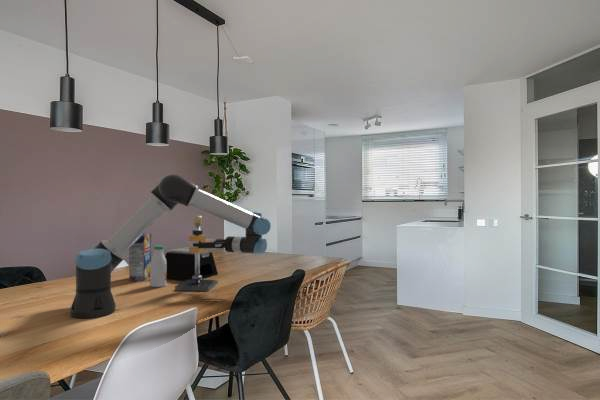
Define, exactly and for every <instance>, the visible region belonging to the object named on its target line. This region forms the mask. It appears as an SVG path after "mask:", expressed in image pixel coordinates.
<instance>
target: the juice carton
mask: <svg viewBox="0 0 600 400" xmlns="http://www.w3.org/2000/svg"><path fill="white" fill-rule="evenodd" d="M128 254H129V261H128V262H129V266H128V267H129V271H128V274H129V278H128V279H129V282H144V281H146V280H147V279H150V263H151V259H152V233H144V234H143V235H142V236H141V237H140V238H139V239H138V240H137V241H136V242H135V243H134V244H133V245H132V246H131V247H130V248H129V253H128Z"/></svg>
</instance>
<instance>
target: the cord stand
mask: <svg viewBox="0 0 600 400" xmlns="http://www.w3.org/2000/svg"><path fill="white" fill-rule="evenodd" d="M202 221H203V216H202V215H193V225H194V229H193V230H192V233H191V235H195V236H200V235H204V234H203V229H201V225H202V224H203V222H202ZM218 283H219V281H218V279H202V275H200V253H196V252H195V275H193V276H192V280H191V279H187V280H185V281H181V282H180V283H178V284H176V285H175V286H174V291H176V292H181V291H183V292H210V291H211V290H212V289H213V288H215V285H216V284H217V285H218ZM217 285H216V286H217ZM210 289H211V290H210Z"/></svg>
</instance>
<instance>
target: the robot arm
mask: <svg viewBox="0 0 600 400" xmlns="http://www.w3.org/2000/svg"><path fill="white" fill-rule="evenodd" d="M178 204H179V205H182V206H185V207H191V206H192V207H194V208H196V209H199V210H201V211H203V212H205V213H208V214H210V215H212V216H215V217H217V218H219V219H222V220H224V221H226V222H229V223H231V224H234V225H236V226H238V227H241V228H243V229H245V236H230V235H229V236H227V237H226V238H206V242H201V241H199V242H193V241H189V240H188V241H187V247H188V248H189V247H195V248H199V249H200V248H205V249H224V250H225V252H226V253H238V254H240V255H241V254H242V253H243V254H264V253H266V251H267V248H268V243H267V241H268V240H267V239H266V238H265V237H263V236H264V235H267V234H268V233H269V232H270V230H271V227H272V225H271V221H270V220H269V219H267V218H266V217H264V216H263V215H262V212H261V211H249V210H247V209H244V208H243V207H240V206H238V205H236V204H233V203H232V202H230V201H227V200H225V199H222V198H221V197H218V196H216V195H213V194H211V193H209V192H207V191H204V190H202V189H200V188H199V185H197V184H195V183H193V182H191V181H189V180H187V179H186V178H184V177H183V176H181V175H179V174H168V175H166V176H164V177H163V178H162V179H161V181H160V182H159V183H158V184H157V185H156V186H155V187H154V188H153V189H152V190H151V191H150V193H149V198H148V199H147V200H146V201H145V202H144V203H143V204H142V205H141V206H140V207H139V208H138V209H137V210H136V211H135V213H133V214H132V215H131V216H130V217H129V218H128V219H127V220H126V221H125V222H124V223H123V224H122V225H121V226H119V228H118V229H117V230H116V231H114V233H113V234H112V235H111V236H110V237H109V238H108V239H103V240H101V241H100V242H99V243H98V244H97V245H95V247H94V248H90V249H84V250H81V251H79V252H78V253H77V254H76V259H75V296H74V298H73V301H72V304H71V306H70V310H69V311H70V312H69V315H70V317H71V318H76V319H91V318H93V319H94V318H98V317H99V318H100V317H104V316H107V315H111V314H113V313H115V312H116V310H117V309H116V308H117V306H116V301H115V299H114V297H113V296H114V295H113V294H112V293H113V292H112V290H111V289H112V287H111V285H112V284H111V282H112V279H111V278H112V272H113V271H114V270H115V269H116V268H117V267H118V266H119V265H120V264H121V263H122V262H123V261H124V260H125V253H126V252H127V251H129V250H130V247H131V246H132V245H133V244H134V243H135V242H136V241H137V240H138V239H139V238H140V237H141V236H142V235H143V234H146V232H147V231H148V230H149V229H150V228H151V227H152V226H153V225H154V223H156V222H157V221H158V219H160V218H161V217H162V216H163V215H164V213H166V212H171V211H172V210H174V208H176V206H177V205H178Z"/></svg>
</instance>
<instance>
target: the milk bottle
mask: <svg viewBox="0 0 600 400" xmlns="http://www.w3.org/2000/svg"><path fill="white" fill-rule="evenodd" d="M165 256H166V255H165V254H164V245H161V244H160V245H154V246H153V255H152V256H151V263H150V277H149V287H151V288H162V287H166V286H167V284H168V283H167V282H168V281H167V280H168V279H167V263H166V258H165Z"/></svg>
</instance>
